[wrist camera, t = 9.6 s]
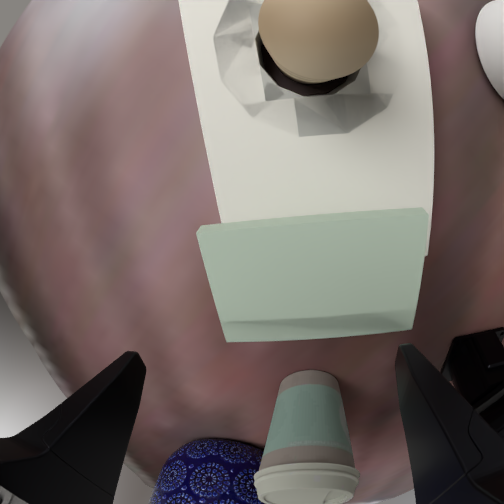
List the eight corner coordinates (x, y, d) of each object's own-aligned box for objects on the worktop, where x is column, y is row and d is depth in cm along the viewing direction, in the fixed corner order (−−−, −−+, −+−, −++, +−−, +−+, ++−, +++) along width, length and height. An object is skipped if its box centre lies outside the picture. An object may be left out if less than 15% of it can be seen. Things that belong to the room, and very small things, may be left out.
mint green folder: (384, 260, 21) (411, 329, 15) (244, 271, 22) (226, 342, 16) (386, 170, 18) (428, 214, 12) (227, 184, 19) (196, 233, 13)
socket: (412, 233, 19) (427, 255, 17) (239, 247, 22) (232, 271, 19) (393, -15, 12) (409, -29, 9) (193, 2, 14) (176, -10, 11)
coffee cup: (316, 416, 31) (314, 513, 21) (250, 392, 30) (231, 499, 19) (370, 378, 27) (383, 491, 17) (298, 347, 26) (292, 479, 15)
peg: (347, 82, 15) (386, 78, 8) (278, 87, 16) (268, 84, 9) (337, 19, 14) (366, -26, 7) (267, 25, 14) (249, -19, 7)
